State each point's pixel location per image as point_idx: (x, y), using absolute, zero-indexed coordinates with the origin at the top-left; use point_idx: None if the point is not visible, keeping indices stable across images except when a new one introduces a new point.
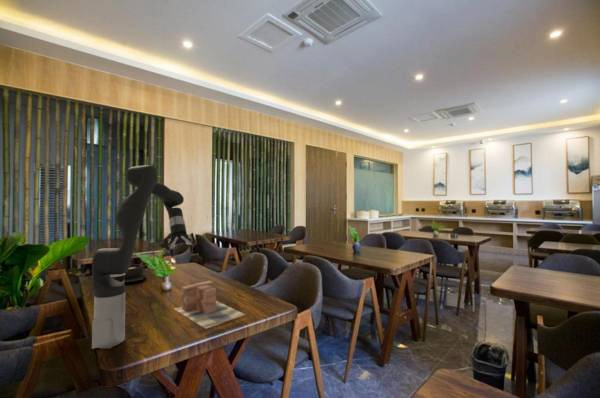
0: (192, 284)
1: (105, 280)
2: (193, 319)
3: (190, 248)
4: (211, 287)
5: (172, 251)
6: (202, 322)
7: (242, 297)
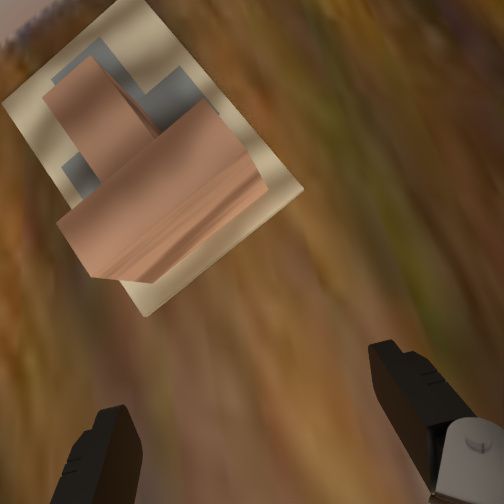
0: (185, 195)
1: None
2: (188, 64)
3: (96, 452)
4: (66, 121)
5: (413, 388)
6: (150, 36)
7: (7, 336)
